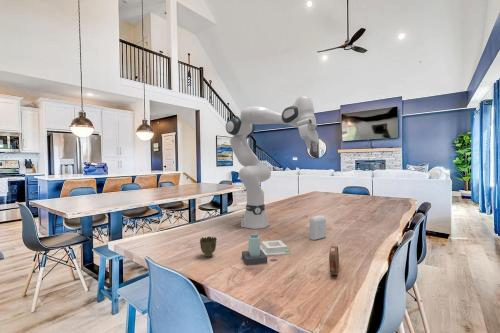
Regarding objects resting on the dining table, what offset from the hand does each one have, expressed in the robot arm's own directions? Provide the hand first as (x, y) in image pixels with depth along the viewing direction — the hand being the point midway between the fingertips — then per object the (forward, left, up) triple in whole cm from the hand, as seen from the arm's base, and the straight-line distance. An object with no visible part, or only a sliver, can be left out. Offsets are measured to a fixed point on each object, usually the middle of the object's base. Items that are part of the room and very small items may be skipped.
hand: (312, 149), depth 136 cm
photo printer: (-3, +5, -48) cm, 49 cm away
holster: (+18, -36, -48) cm, 63 cm away
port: (+9, -24, -48) cm, 54 cm away
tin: (+35, -8, -48) cm, 60 cm away
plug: (+18, -36, -48) cm, 63 cm away
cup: (+9, -55, -48) cm, 74 cm away
